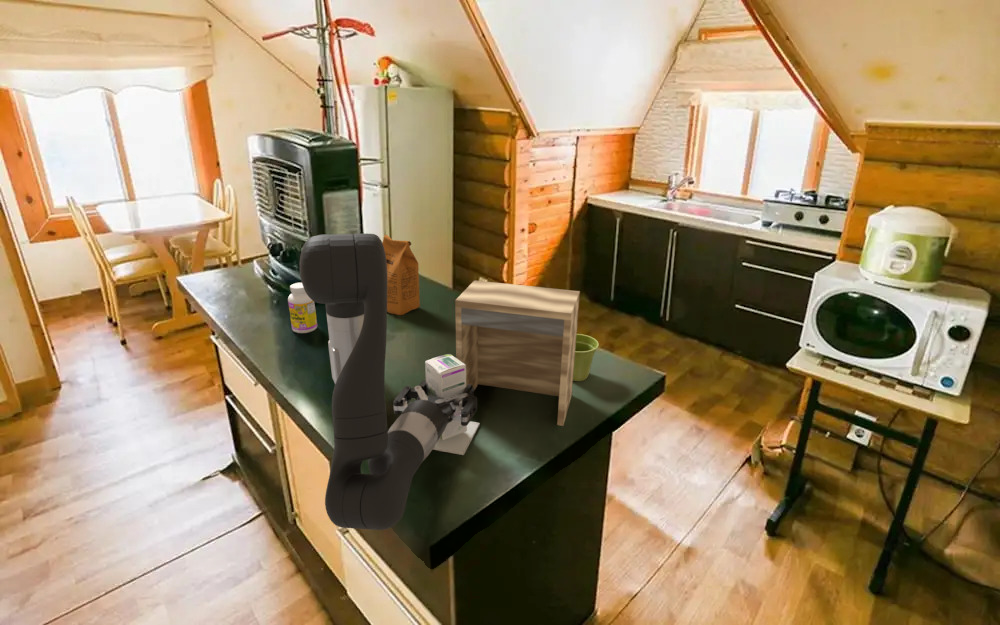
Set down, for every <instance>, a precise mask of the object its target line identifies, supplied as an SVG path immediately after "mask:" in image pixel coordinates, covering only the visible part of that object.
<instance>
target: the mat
mask: <svg viewBox="0 0 1000 625" xmlns="http://www.w3.org/2000/svg"><path fill="white" fill-rule="evenodd" d="M479 427H480V422H476V421H471V420H470V422H469V424H468V425H467V431H465V432H463V433H461V434H458V435H456V436H453V437H450V438H448V439H445V440H442V439H441V438H439V440H438V441H437V443H436V445H435V447H434V448H433V449H432V451H433V450H435V451H439V452H444V453H450V454H456V455H460V456H461V455H462V456H465V453H466V452H467V451H468V450H467V449H468V448H469V445H470V444H471V442H472V440H473V438H474V436H475V434H476V432H477V430H478V429H479Z"/></svg>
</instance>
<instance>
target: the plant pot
mask: <svg viewBox="0 0 1000 625" xmlns="http://www.w3.org/2000/svg"><path fill="white" fill-rule="evenodd" d="M599 345H600V343H599V341H598V340H597V339H596V338H594V337H592V336H590V335H586V334H582V333H577V334H576V347H575V360H574V373H573V382H583V381H586V380H587V379H588V377H589V376H590V375H589V374H590V371H591V367H592V363H593V360H594V356H595V353H596V351H597V349H599Z"/></svg>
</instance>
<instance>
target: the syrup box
mask: <svg viewBox="0 0 1000 625" xmlns="http://www.w3.org/2000/svg"><path fill="white" fill-rule="evenodd" d="M424 366H425V368H424V369H425V380H426V392H427V394H426V396H427V397H429V396H434V397H437V398H447V397H449V396H452V395H455V396H458V395H461V394H462V393H463V391H464V390H465V388H466V365H465V364H464V363H462V362H461V361H459V360H458V359H457V358H456V356H454V355H453V354H451V353H447V354H443V355H439V356H436V357H432V358H431V359H427V360H425V362H424ZM459 404H462V401H460V402H459ZM450 405H451V406H452V402H451V403H450ZM465 431H467V426H462V425H461V421H457V420H453V421H451V422H449V423H448V424H447V426H446V428H445V430H444V432H443V433H442V435H441V437H440V438H441V439H442V440H445V439H448V438H450V437H453V436H456V435H458V434H461V433H463V432H465Z"/></svg>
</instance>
